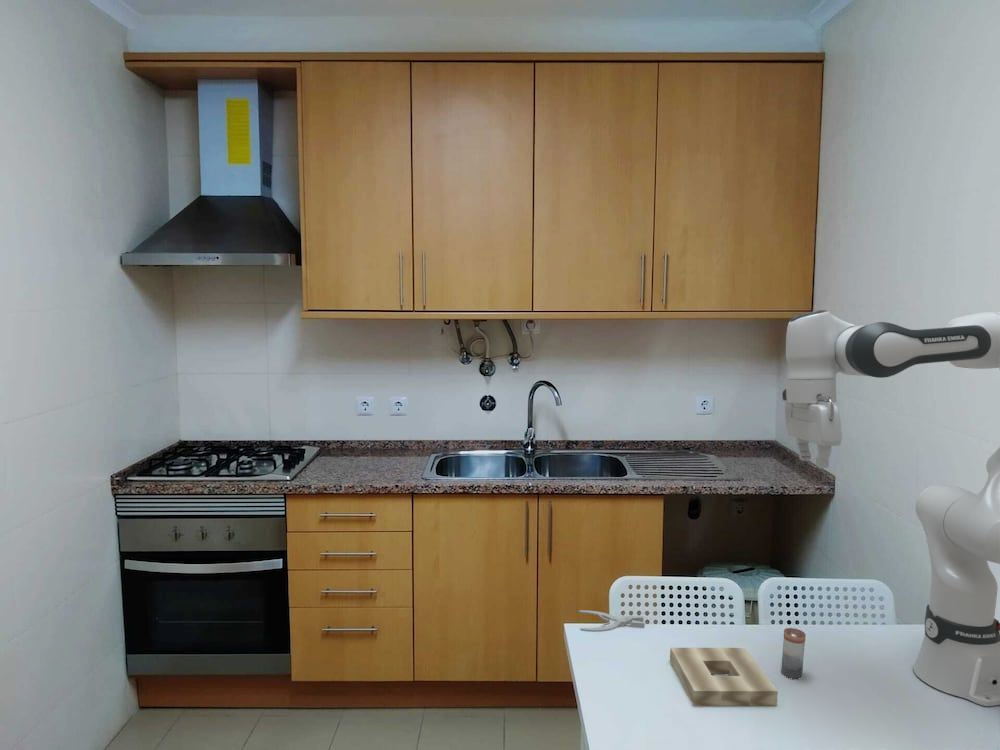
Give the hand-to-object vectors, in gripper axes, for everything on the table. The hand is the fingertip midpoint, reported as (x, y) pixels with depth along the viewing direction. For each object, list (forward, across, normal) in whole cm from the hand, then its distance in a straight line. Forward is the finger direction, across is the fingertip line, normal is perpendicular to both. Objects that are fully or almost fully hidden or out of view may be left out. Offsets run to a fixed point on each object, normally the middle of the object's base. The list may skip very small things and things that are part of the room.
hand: (813, 463), depth 136 cm
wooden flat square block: (+44, +1, +19) cm, 48 cm away
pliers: (+41, +23, +39) cm, 61 cm away
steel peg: (+44, +6, +4) cm, 45 cm away
